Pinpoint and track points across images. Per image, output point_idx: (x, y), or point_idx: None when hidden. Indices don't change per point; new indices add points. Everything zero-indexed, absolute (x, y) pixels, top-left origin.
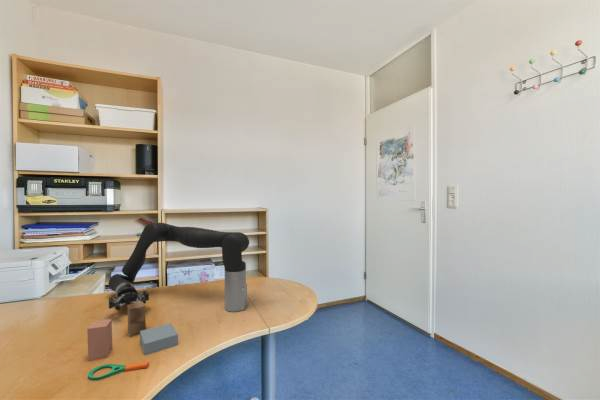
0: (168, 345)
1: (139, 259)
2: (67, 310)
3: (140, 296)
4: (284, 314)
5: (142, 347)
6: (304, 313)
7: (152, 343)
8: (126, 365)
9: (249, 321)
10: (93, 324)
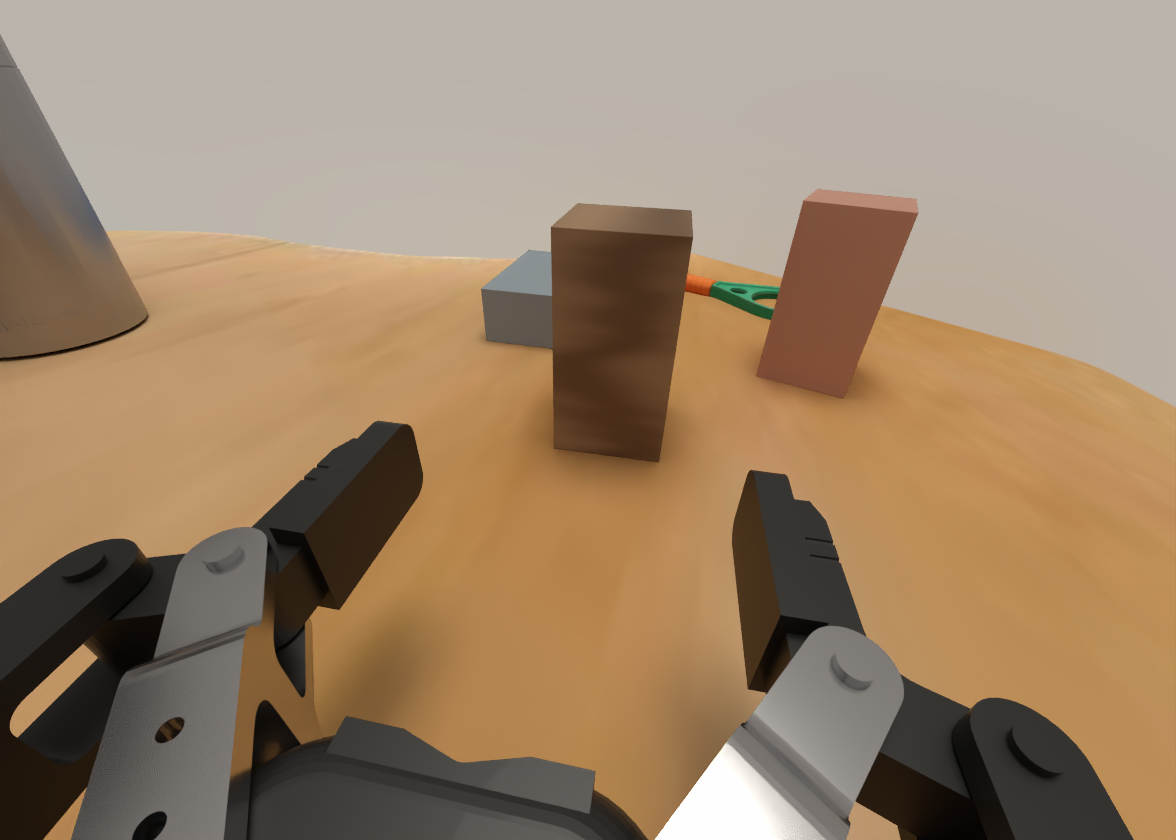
0: None
1: None
2: None
3: (269, 574)
4: (155, 246)
5: None
6: (137, 232)
7: None
8: (711, 282)
9: (253, 267)
10: (900, 203)
